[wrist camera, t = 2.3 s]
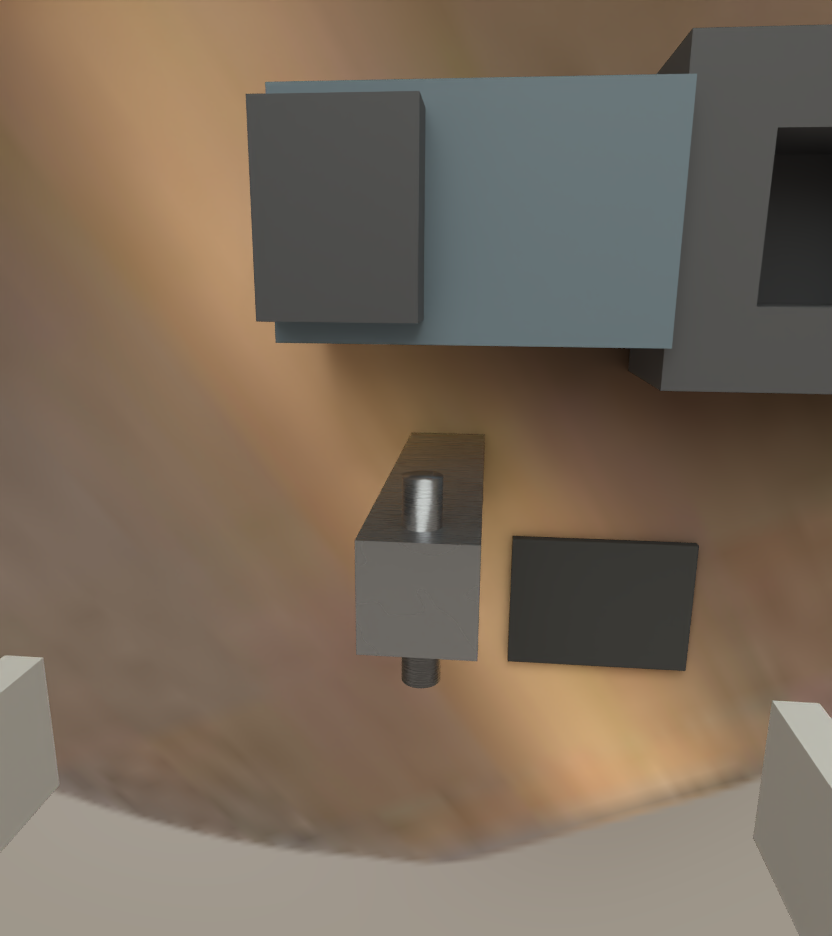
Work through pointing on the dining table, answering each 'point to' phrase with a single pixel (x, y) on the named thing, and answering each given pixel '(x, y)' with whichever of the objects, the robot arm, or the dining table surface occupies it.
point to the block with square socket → (564, 212)
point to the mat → (601, 602)
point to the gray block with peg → (423, 558)
